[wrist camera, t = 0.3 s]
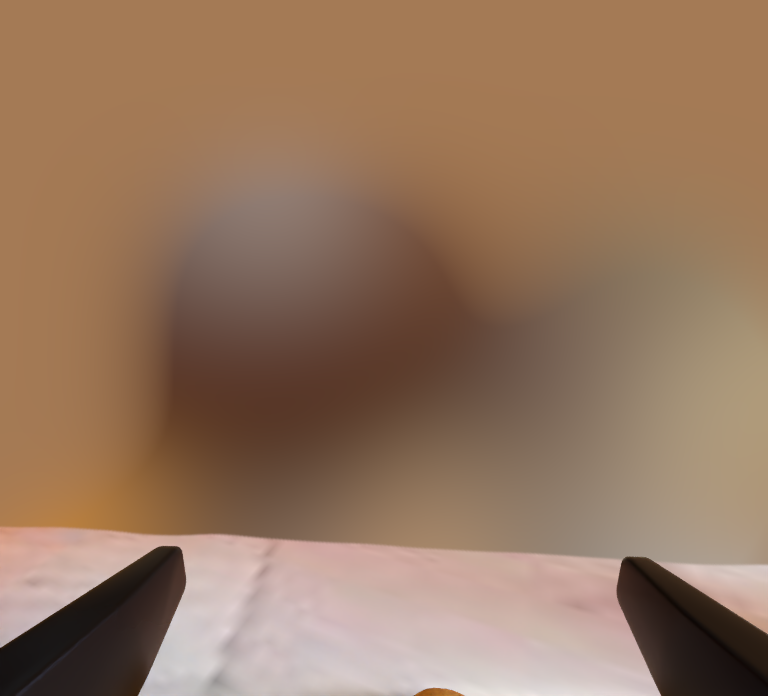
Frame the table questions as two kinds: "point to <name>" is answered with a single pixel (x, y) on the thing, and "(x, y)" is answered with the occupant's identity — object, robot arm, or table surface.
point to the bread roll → (438, 692)
